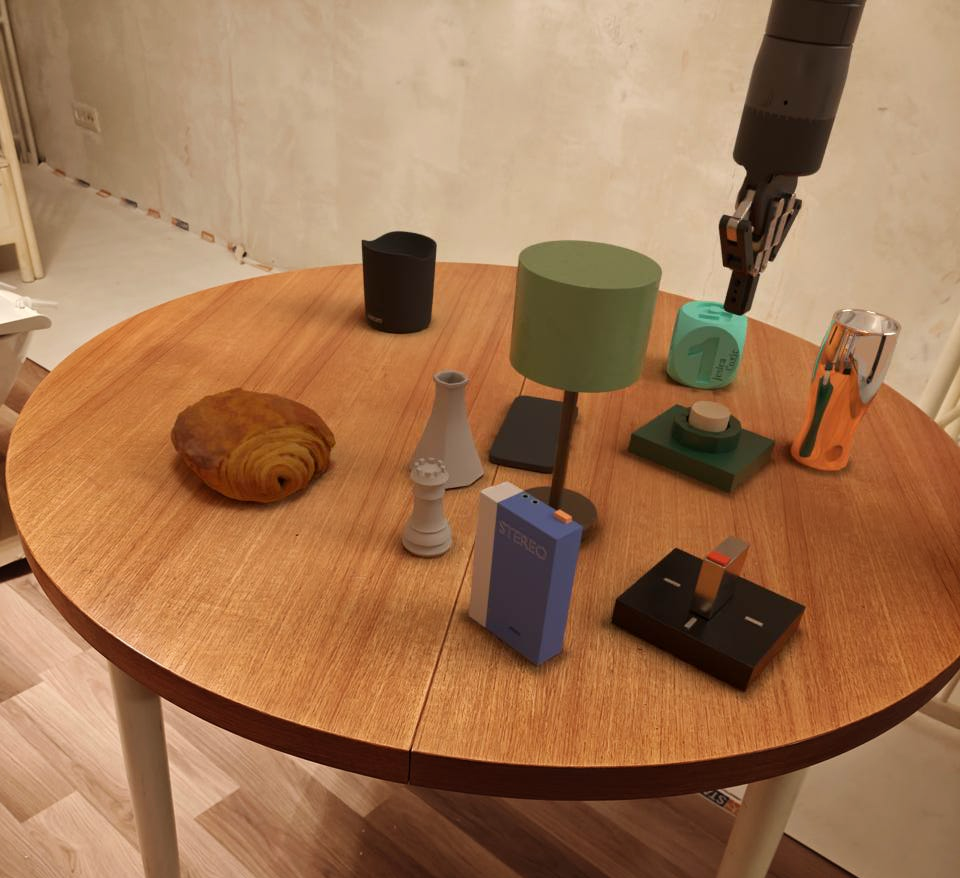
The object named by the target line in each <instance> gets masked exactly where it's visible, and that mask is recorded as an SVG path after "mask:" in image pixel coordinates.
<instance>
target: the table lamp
mask: <svg viewBox="0 0 960 878" xmlns="http://www.w3.org/2000/svg"><path fill="white" fill-rule="evenodd" d="M662 276H663V269H662V267H661V266H660V264H659V263H658V262H656V260H654V259H653V258H651V257H649V256H647V255H646V254H643V253H641V252H639V251H636V250H633V249H630V248H627V247H624V246H620V245H615V244H610V243H604V242H599V241H598V242H597V241H590V240H578V239H576V240H575V239H573V240H572V239H560V240H549V241H543V242H538V243H535V244H531V245H529V246H526V247H525V248H523V249H522V250H521V251H520V252H519V254H518V261H517V270H516V282H515V283H516V284H515V292H514V301H513V313H512V325H511V332H510V333H511V334H510V345H509V355H508V359H509V362H510V365H511V367H512V368H513V369H514V370H515V371H516V372H517V373H518V374H520V375H521V376H522V377H524V378H526V379H527V380H530V381H531V382H534V383H536V384H539V385H542V386H544V387H547V388H551V389H556V390H560V391H563V398H562V402H563V404H562V411H561V419H560V426H559V433H558V440H557V447H556V454H555V461H554V468H553V472H552V477H551V483H550V485H549V486H548V485H545V486H541V485H540V486H533V487H530V488H527V489H525V490H523V491H525V492H527V493H528V494H530V495H532V496H533V497H535V498H536V499H538V500H540V501H541V502H543V503H545V504H546V505H548V506H550V507H551V508H553V509H555V510H556V511H558V510H561V511H563V512H565V513H566V514H568V515H570V516H571V517H572V520H573V521H575V522H576V523H578V524H580V525H581V526H583V530H582V536H581V542H580V544H582V543H583V542H586V541H587V540H588V539H590V538H591V537H592V536H593V534H594V533H595V529H596V525H597V518H598V511H597V508H596V505H595V504H594V503H593V501H591V499H589V498H588V497H587V496H585V495H584V494H581V493H580V492H578V491H575V490H572V489H569V488H565V485H566V479H567V472H568V464H569V458H570V451H571V446H572V438H573V432H574V427H575V423H574V420H575V413H576V406H577V407H578V400H579V394H580V393H584V394H585V393H586V394H600V393H609V392H617V391H620V390H623V389H626V388H629V387H631V386H633V385H635V384H636V383H637V382H638V381H639V380H640V379H641V377H642V376H643V371H644V366H645V362H646V356H647V352H648V346H649V341H650V336H651V331H652V327H653V326H652V325H653V320H654V316H655V311H656V307H657V306H656V305H657V301H658V297H659V296H658V295H659V291H660V285H661V280H662ZM575 421H576V420H575Z"/></svg>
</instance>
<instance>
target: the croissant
mask: <svg viewBox="0 0 960 878" xmlns="http://www.w3.org/2000/svg"><path fill="white" fill-rule="evenodd" d="M170 441H171V443H172V445H173V448H174V450H175V452H177V454H178V455H179V457H180V458H181V459H182V460H183V462H184V463H185V465H186V466H187V467H189V468H190V469H191V470H192V471H193V472H194V473H195V474H196V476H197V477H199V479H200V480H202V481H203V482H204V484H206V486H208V487H209V488H211V489H212V490H213V491H217V493H220V494H222V495H223V496H224V497H227V498H229V499H234V500H238V501H242V502H245V501H247V502H251V501H253V502H257V503H263V504H268V503H271V502H277V501H278V502H279V501H281V500H283V499H285V498H286V497H288V496H291V495H293V494H294V493H295V492H296V491H298V490H303V489H305V488H307V486H308V484H309V481H310V480H311V481H312V480H315V479H317V478H319V477H320V475H321V474H323V473H324V472H325V471H326V469H327V467H328V466H329V462H331V461H332V459H331V458H330V456H331V452H332V449H334V447H336V445H337V442H336V440H335V435H334V433H333V431H332V430H331V428H330V427H329V426H328V424H327V423H326V422H325V420H323V418H322V417H321V416H320V415H319V413H317V412H316V410H314V409H312V408H310V407H309V406H307V405H305V404H303V403H300V402H298V401H296V400H294V399H291V398H287V397H284V396H280V395H279V394H278V393H267V392H255V391H250V390H244V389H243V388H242V387H236V388H231V389H229V390H225V391H220V392H217V393H213V394H209V395H205V396H204V397H203V398H201V399H200V400H198V401H197V402H195V403H193V404H188V405H187V406H186V407H185V408H184V410H182V411H180V412H179V413H178V415H177V416H176V418H175V421H174V425H173V427H172V428H171V432H170Z"/></svg>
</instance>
